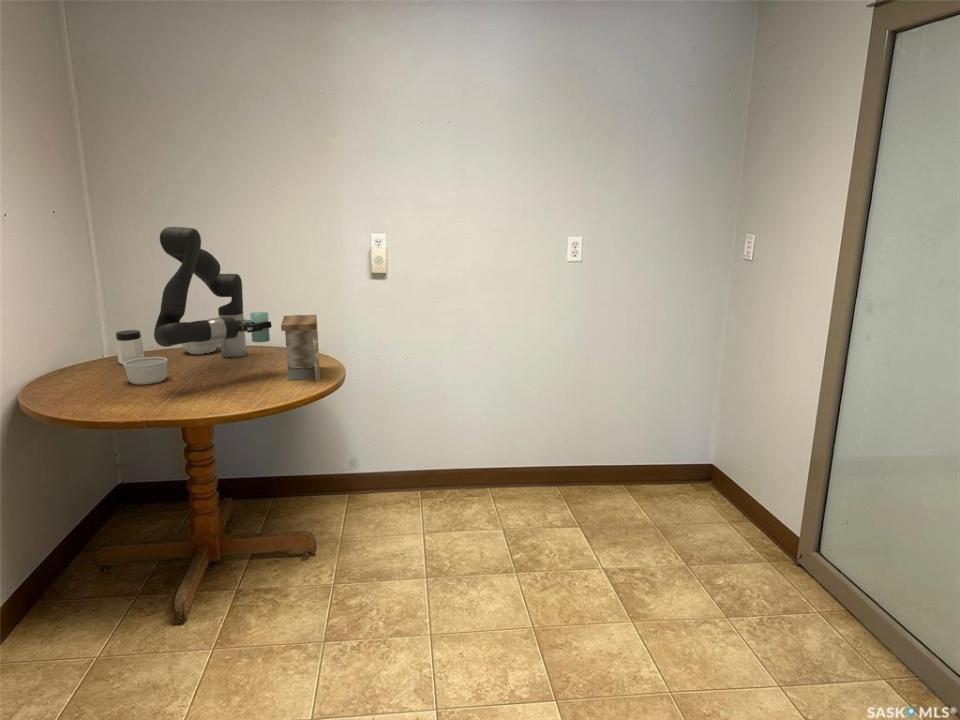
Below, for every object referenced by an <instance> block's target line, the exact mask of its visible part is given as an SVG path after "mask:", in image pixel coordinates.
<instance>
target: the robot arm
mask: <svg viewBox="0 0 960 720" xmlns="http://www.w3.org/2000/svg"><path fill="white" fill-rule="evenodd" d="M159 242H160V246H161V248H162V250H163V251H164V252H165V253H166V254H167V255H168V256H170V257H172V258H174V259H175V260H177V261H178V262H179V263H181V265H180V266H179V268H178V270H176V272H175V273H174V275H173V276H172V277H171V278H170V279H169V281H168V282H167V283H166V285H165V287H164V289H163V291H162V297H161V303H160V311H159V314H158V317H157V320H156V324H155V327H154V330H153V334H154V335H153V337H154V340H155V342H156V343H157V345H158V346H161V347H164V348H166V347H167V348H168V347H172V346H177V345H181V344H183V343H189V342H204V341H217V340H220V345H219V346H220V351H221V352H220V355H221V358H228V357H233V358H241V357H240V356H242V357H245V356H247V354H248V353H247V352H248V351H247V340H246V333H251V332H255V331H262V330H263V329H265V328H269V329H270V328H272V322H271V321H269V322H257V323H255V322H254V321H251V319H245V317H244V297H243V282H242V278H241V276H240V275H239V274H237V273H220V272H221V264H220V263H219V261H218V259H217V258H216V257H215V256H214V255H213V254H211V253H210V252H209V251H207V250H205V249H203V248H202V237H201V234H200V232H199V231H198V229H196V228H193V227H183V226H182V227H180V226H167V227H165V228H163V229H161V232H160V234H159ZM193 275H195V276H196V277H197V278H199V279H200V280H201V281H202V282H203V283H204V284H205V285H206V287H207V288H208V289H209V290H210V292H211V293H212V294H213V295H214V296H216V297H218V298H231V300H230V302H228V303H227V304H224V305H221V306H219V307H218V309H217V311H218V312H217V313H218V317H215V318H208V319H203V320H194V321H189V322H187V321H185V322H183V321H181V320H182V318H183V317H184V316H185V312H186V306H187V299H188V293H189V288H190V284H191V281H192V279H193ZM257 326H258V328H257Z"/></svg>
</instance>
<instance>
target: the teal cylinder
mask: <svg viewBox="0 0 960 720" xmlns="http://www.w3.org/2000/svg"><path fill="white" fill-rule="evenodd" d="M249 318H250V319H249V320H251V321H254V322H255V323H257V322H270V320H269V312H266V311H256V312H250V313H249ZM257 328H258V326H257ZM250 333H251V341H252V342H253V343H266V342H267V343H268V342H270V341H271V338H270V328H265V329H263V330H262V331H255V332H250Z"/></svg>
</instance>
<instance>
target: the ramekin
mask: <svg viewBox="0 0 960 720" xmlns="http://www.w3.org/2000/svg"><path fill="white" fill-rule="evenodd" d="M168 363H169V361H168V358H166V357H162V356H151V357H150V356H149V357H145V358H139V359H134V360H130V361H127V362H125V363H124V365H123V368H124V369H125V374H126V376H127V380H128V381H129V382H130V384H133V385H138V386H139V385H141V386H142V385H152V384H156V383H160V382H162V381H164V380H166V378H168Z"/></svg>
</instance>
